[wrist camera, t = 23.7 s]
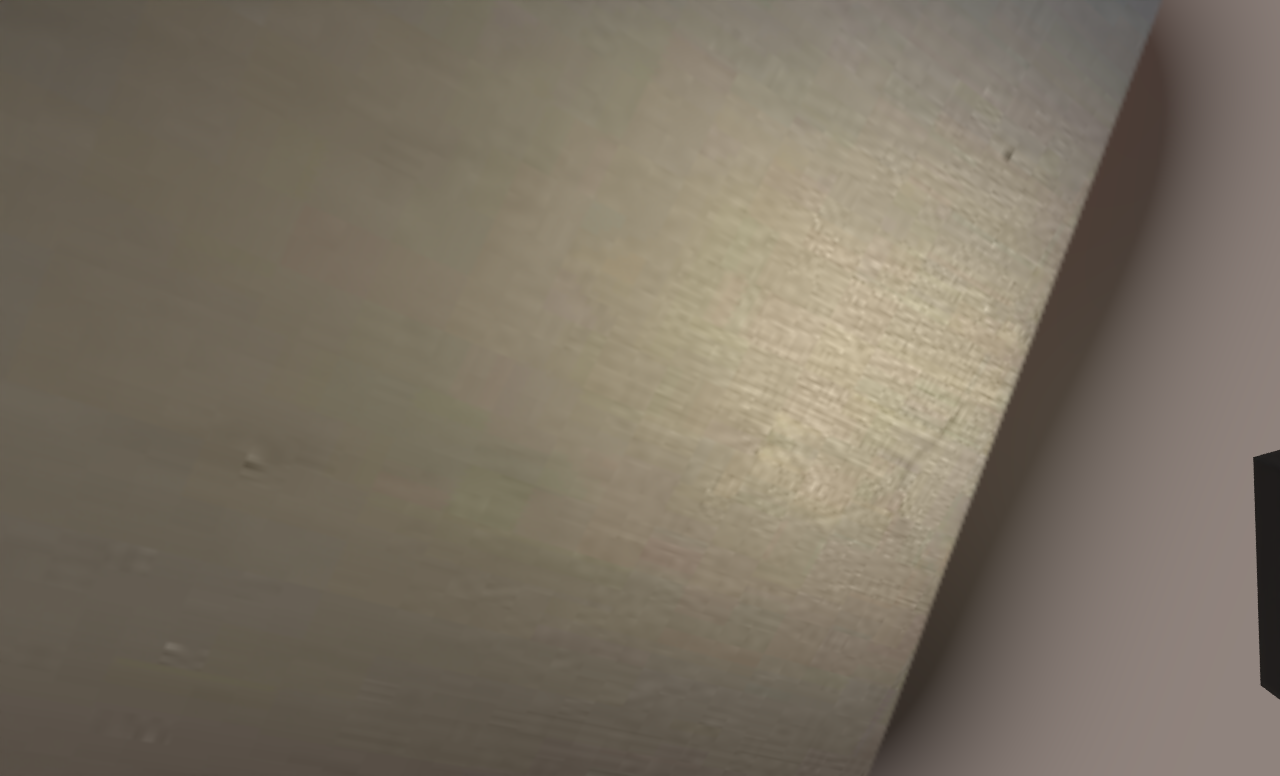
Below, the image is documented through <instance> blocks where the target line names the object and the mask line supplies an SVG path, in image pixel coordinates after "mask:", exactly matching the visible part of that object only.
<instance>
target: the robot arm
mask: <svg viewBox="0 0 1280 776" xmlns="http://www.w3.org/2000/svg"><path fill="white" fill-rule="evenodd" d="M1253 462H1254V493H1255V522H1256V552H1257V553H1256V554H1257V586H1258V616H1259V617H1258V618H1259V649H1260V678H1261V679H1260V680H1261V686H1262V687H1264V688H1265V689H1266V690H1268V691H1269V692H1270V693H1272V694H1273V695H1274V696H1276V697H1277V698H1278V699H1280V450H1278V451H1274V452H1271V453H1267V454H1263V455H1260V456H1257V457H1253Z"/></svg>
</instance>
